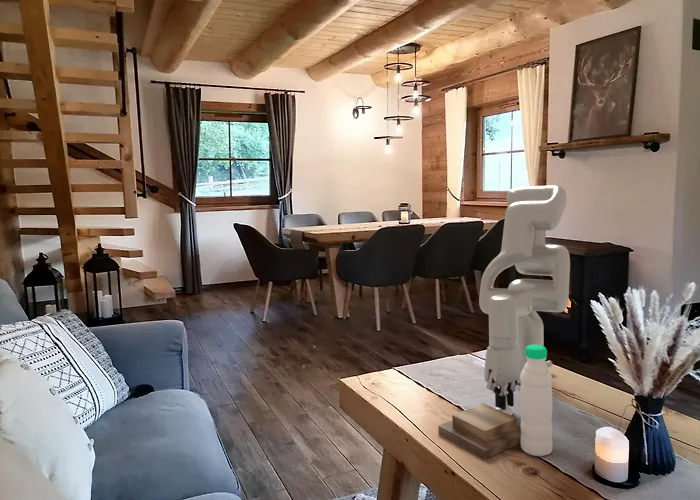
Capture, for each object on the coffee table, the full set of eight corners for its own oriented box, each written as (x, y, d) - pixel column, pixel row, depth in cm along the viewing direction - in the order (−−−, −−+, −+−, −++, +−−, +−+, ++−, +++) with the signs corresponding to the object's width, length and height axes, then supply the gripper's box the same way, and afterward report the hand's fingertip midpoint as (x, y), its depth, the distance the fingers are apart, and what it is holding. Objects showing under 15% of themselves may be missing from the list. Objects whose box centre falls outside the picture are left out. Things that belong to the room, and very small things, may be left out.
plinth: (483, 415, 143) (483, 397, 143) (532, 438, 130) (532, 418, 129) (438, 432, 135) (438, 414, 134) (485, 459, 121) (485, 438, 121)
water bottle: (559, 454, 122) (559, 349, 119) (532, 460, 120) (532, 353, 117) (539, 440, 129) (539, 340, 125) (514, 445, 127) (513, 344, 123)
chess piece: (514, 416, 142) (514, 380, 141) (495, 415, 143) (495, 380, 142) (513, 408, 147) (512, 373, 145) (494, 407, 148) (494, 373, 146)
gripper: (513, 332, 149) (513, 394, 152) (471, 344, 141) (473, 409, 144) (535, 338, 143) (535, 403, 146) (493, 351, 135) (494, 419, 137)
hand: (504, 406), depth 145 cm, fingers closed on chess piece
